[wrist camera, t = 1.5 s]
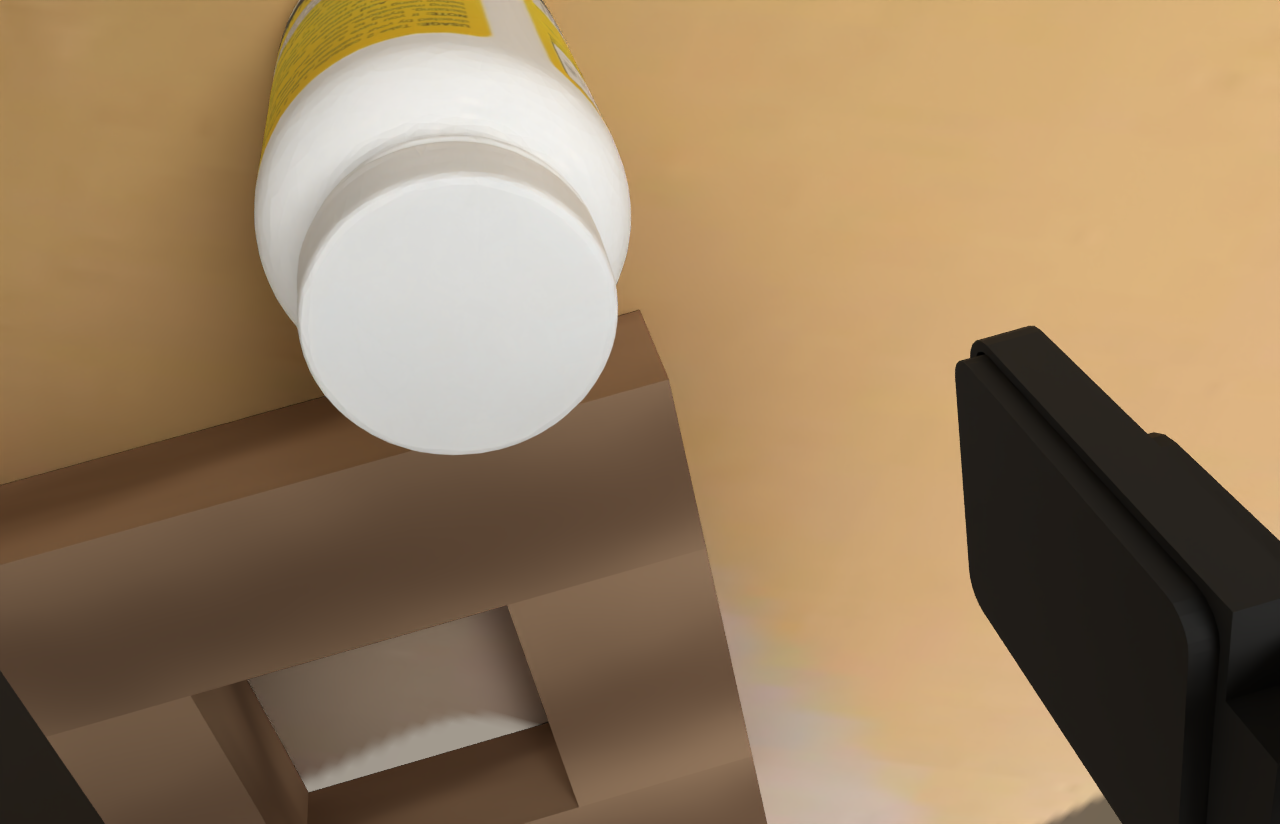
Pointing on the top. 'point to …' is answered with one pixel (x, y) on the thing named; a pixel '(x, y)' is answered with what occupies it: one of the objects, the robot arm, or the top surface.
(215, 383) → the top surface
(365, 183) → the supplement bottle
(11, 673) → the socket block
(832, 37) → the top surface
